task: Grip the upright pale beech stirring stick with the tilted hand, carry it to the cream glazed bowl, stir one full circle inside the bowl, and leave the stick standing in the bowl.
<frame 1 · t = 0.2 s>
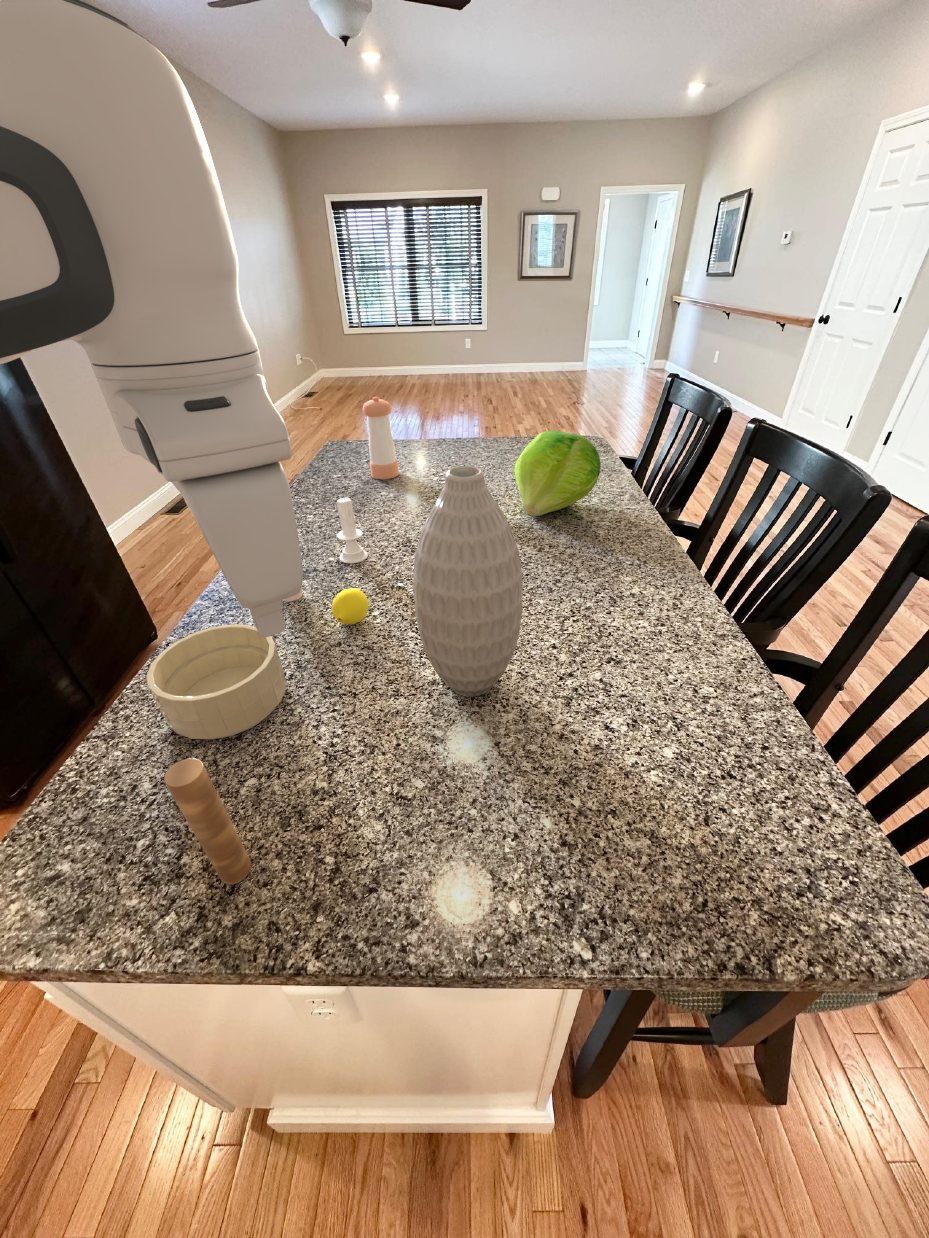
hand: (254, 600, 39), 25 cm above the countertop, tool pointing down, fingers open, 8 cm apart
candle: (354, 558, 98), on the countertop
stick: (235, 869, 48), on the countertop
lemon: (353, 622, 80), on the countertop
lettuce: (552, 507, 114), on the countertop
vase: (471, 682, 68), on the countertop
smoothie: (291, 596, 87), on the countertop
bowl: (229, 700, 66), on the countertop
pepper shaker: (385, 475, 135), on the countertop
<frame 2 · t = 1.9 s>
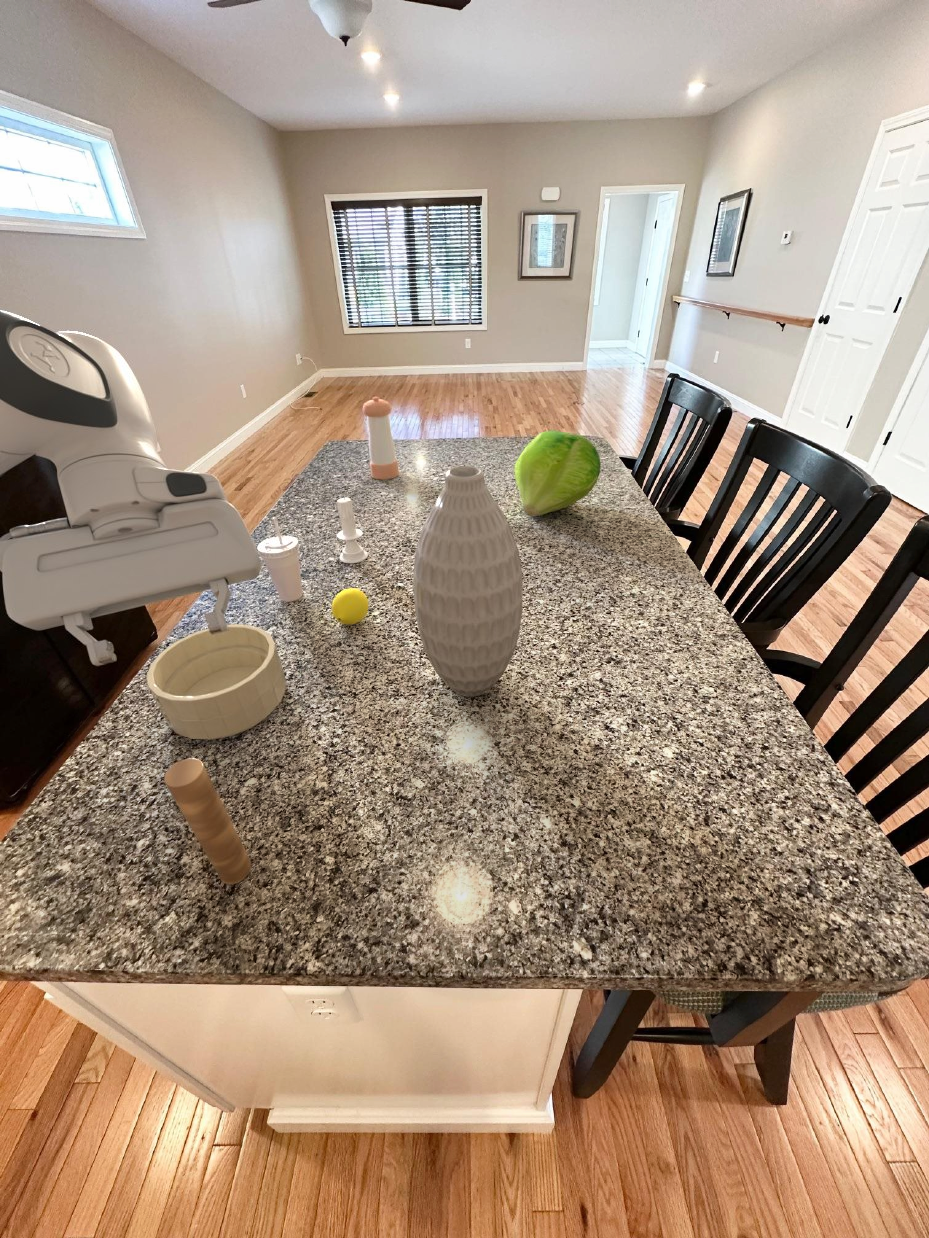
hand: (164, 646, 46), 18 cm above the countertop, tool tilted 45°, fingers open, 8 cm apart
nothing on the countertop moved.
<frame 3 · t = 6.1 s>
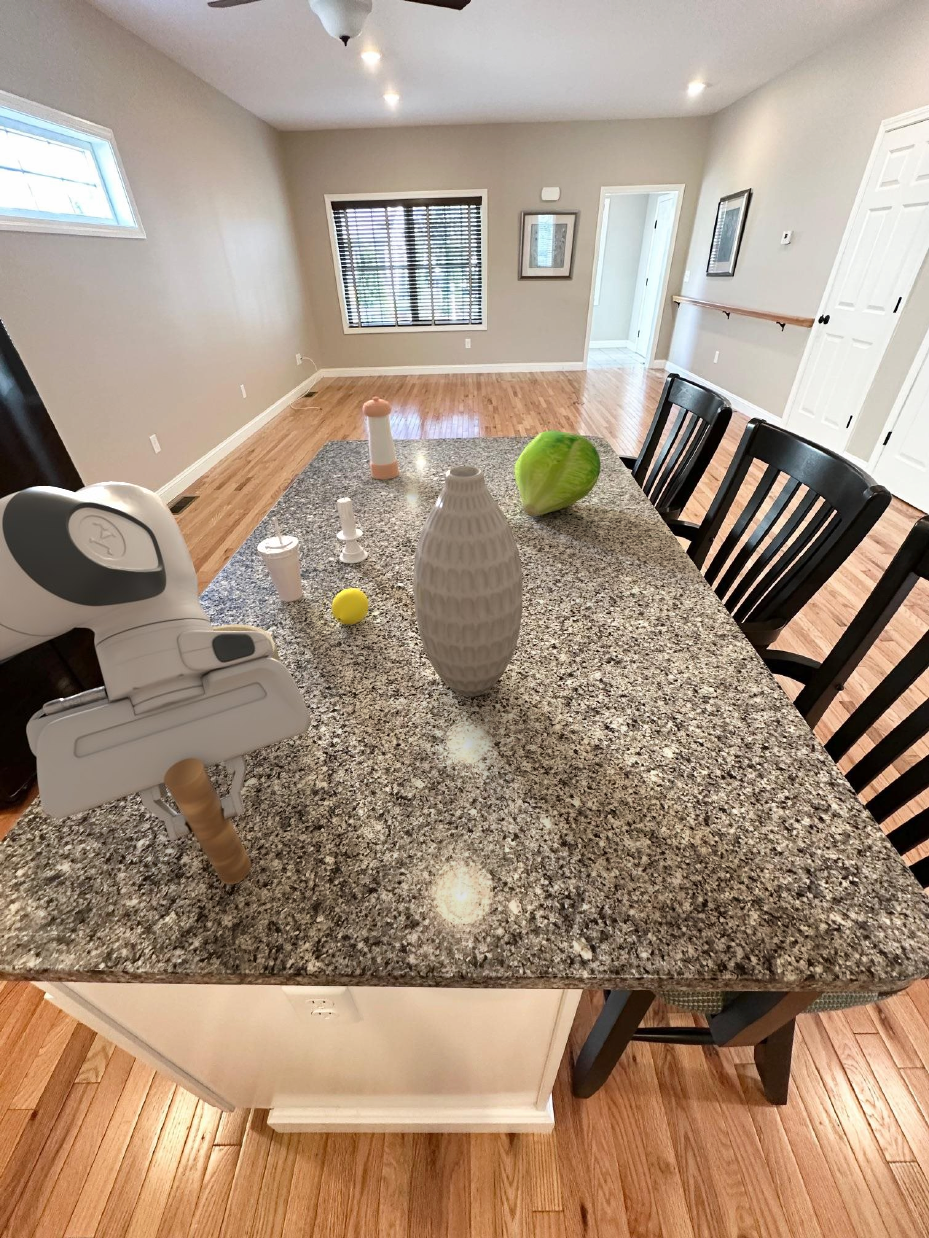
hand: (209, 826, 43), 8 cm above the countertop, tool tilted 45°, fingers closed on stick, 3 cm apart
stick: (235, 869, 48), on the countertop, touching gripper
everything else where it was.
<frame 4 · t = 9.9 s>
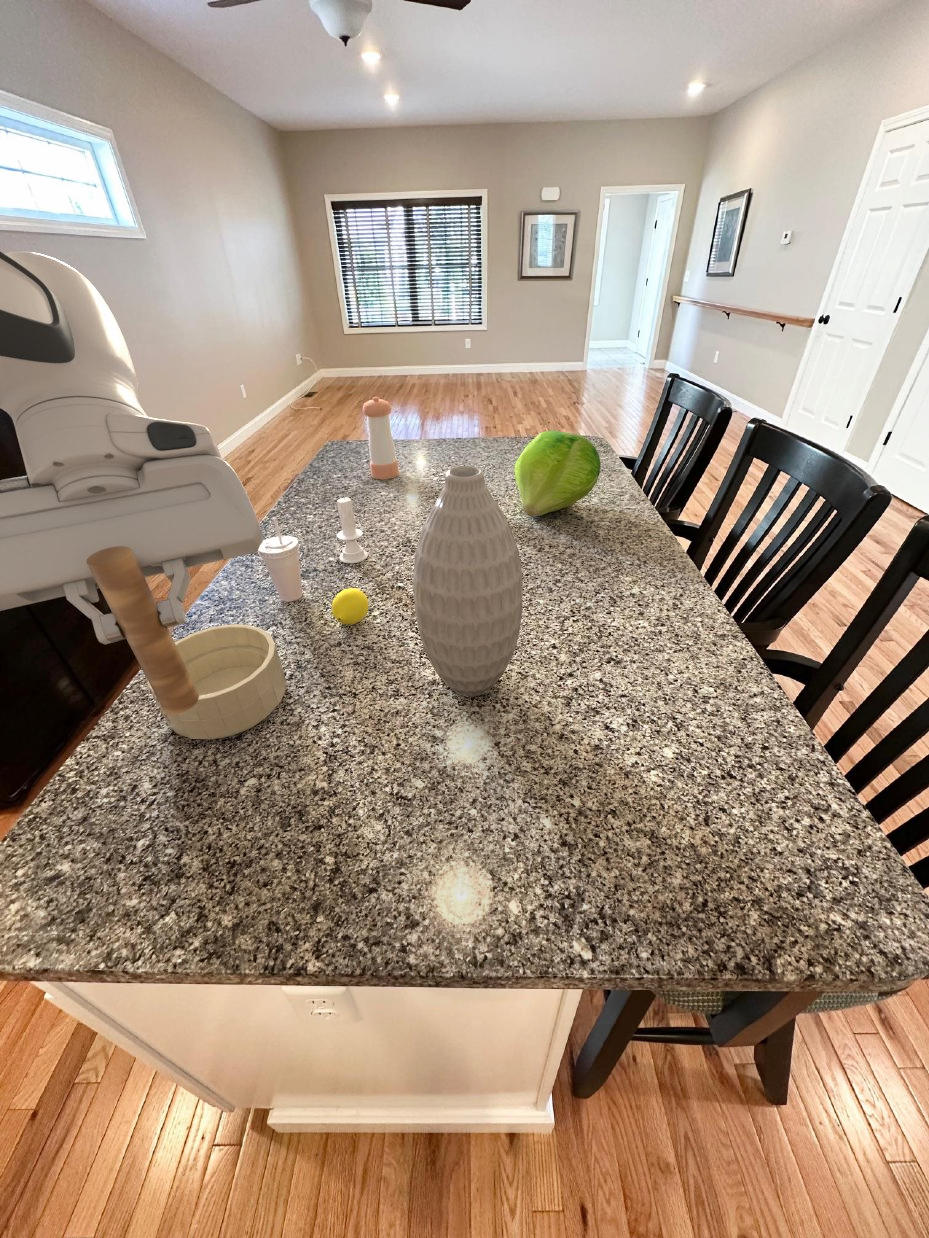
hand: (145, 632, 38), 24 cm above the countertop, tool tilted 45°, fingers closed on stick, 3 cm apart
stick: (181, 702, 43), point 16 cm above the countertop, touching gripper
everything else where it was.
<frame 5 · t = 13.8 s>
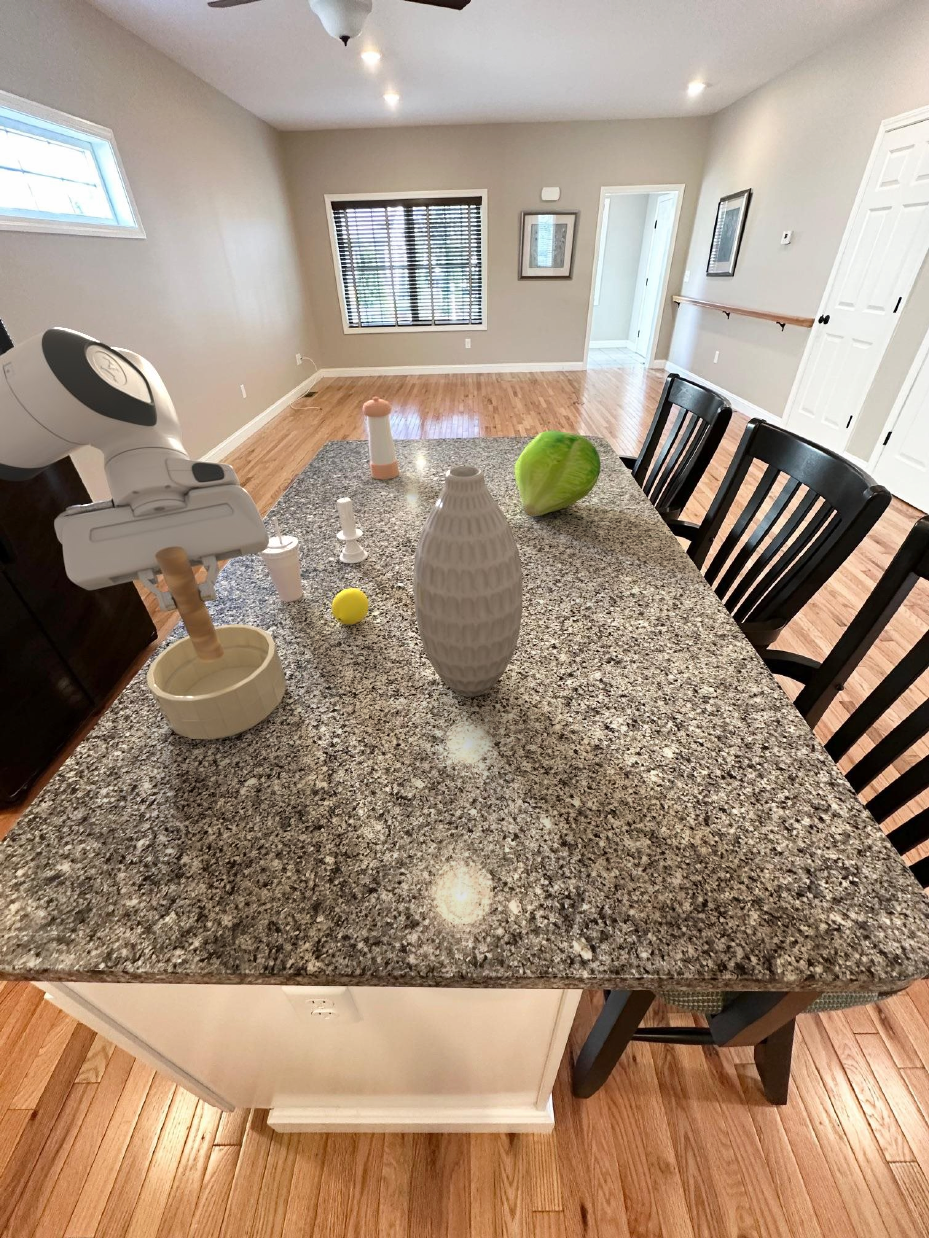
hand: (190, 604, 57), 15 cm above the countertop, tool tilted 45°, fingers closed on stick, 3 cm apart
stick: (211, 655, 62), point 7 cm above the countertop, touching gripper
everything else where it was.
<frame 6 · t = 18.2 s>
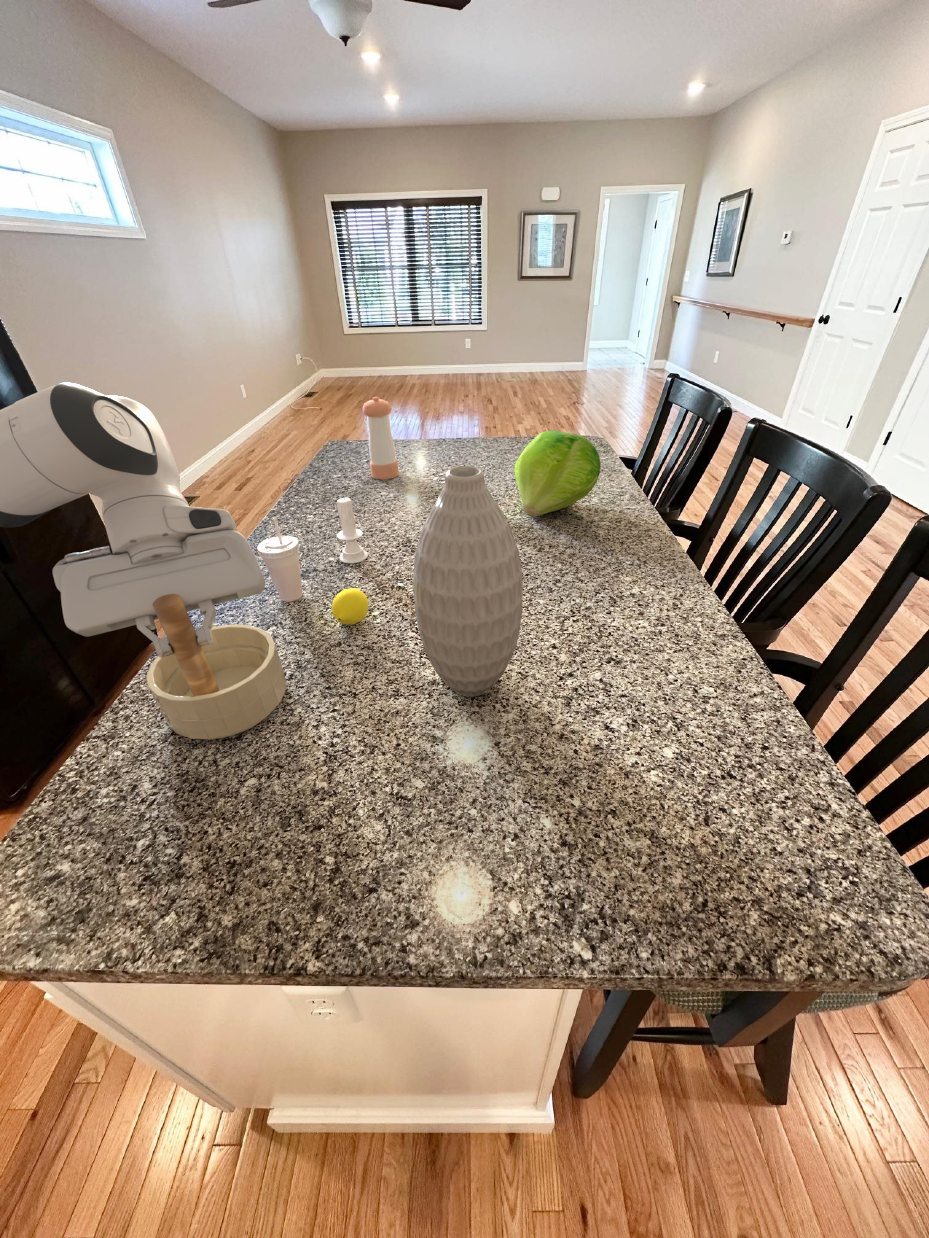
hand: (187, 649, 58), 11 cm above the countertop, tool tilted 45°, fingers closed on stick, 3 cm apart
stick: (208, 696, 63), point 3 cm above the countertop, touching gripper
everything else where it was.
when the fingers open (8 cm above the countertop, at t = 21.8 s): stick stays where it is, resting on bowl.
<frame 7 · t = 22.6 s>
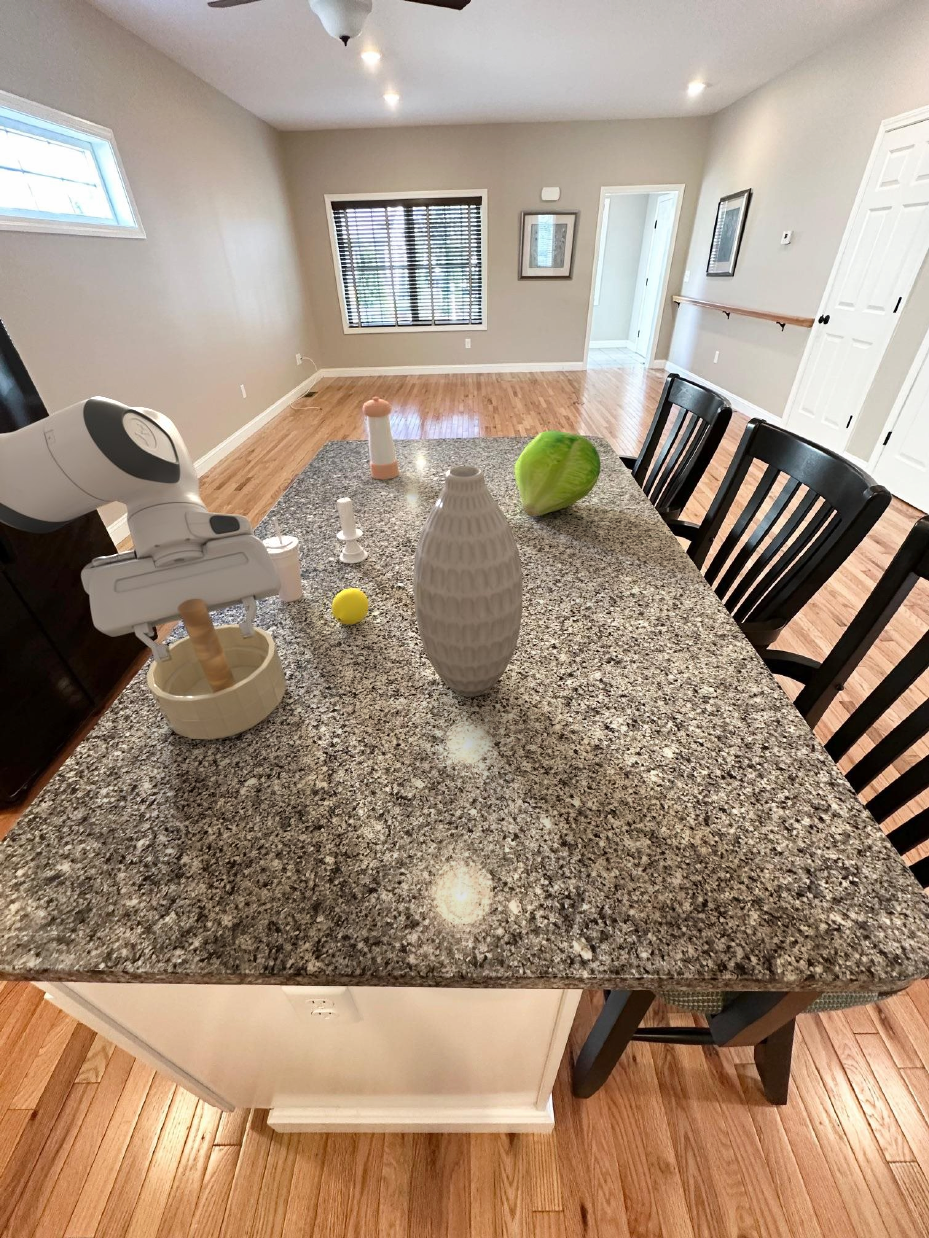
hand: (208, 648, 61), 9 cm above the countertop, tool tilted 45°, fingers open, 8 cm apart
stick: (227, 696, 66), point 1 cm above the countertop, touching bowl
everything else where it was.
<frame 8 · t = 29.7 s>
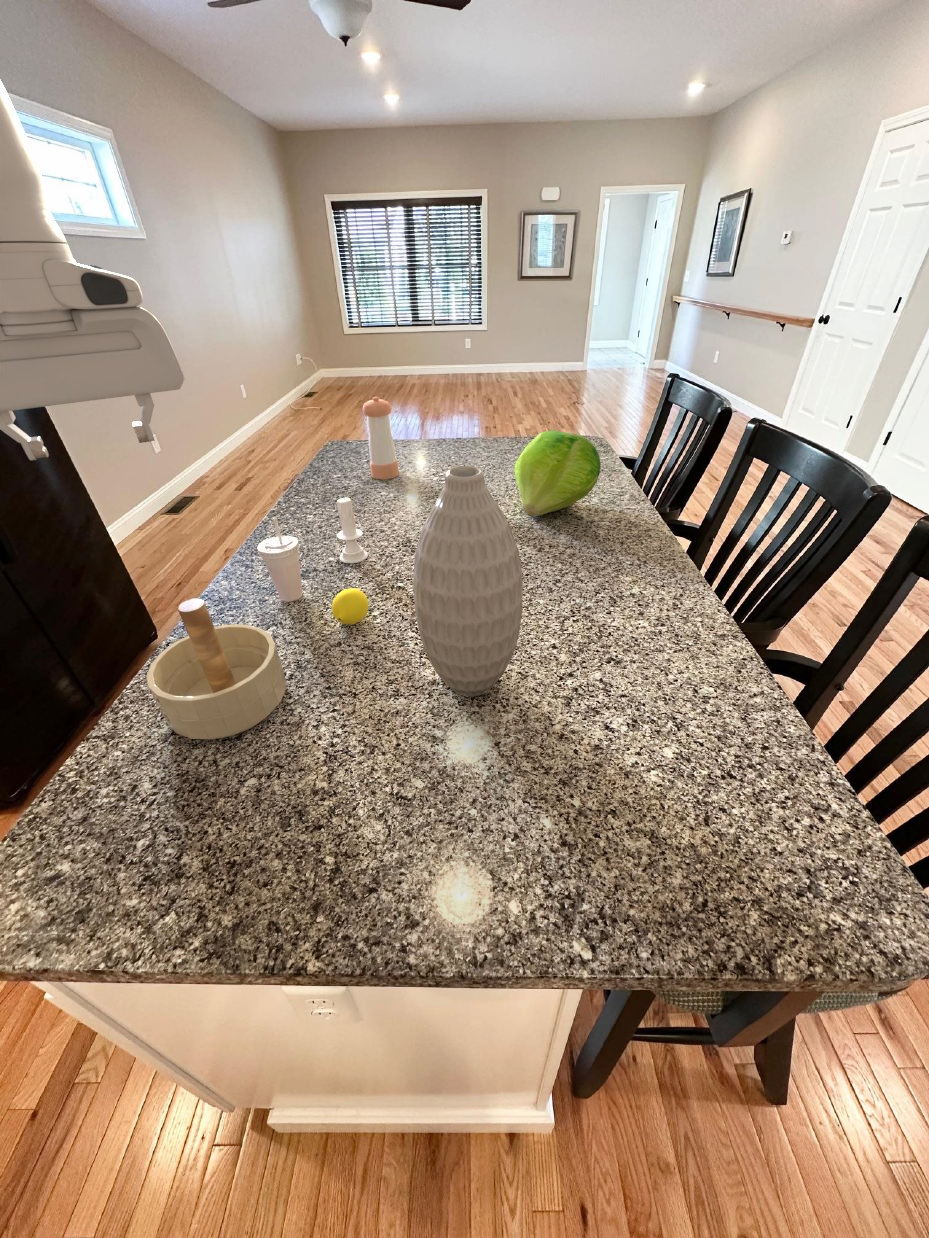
hand: (95, 449, 52), 31 cm above the countertop, tool pointing down, fingers open, 8 cm apart
nothing on the countertop moved.
at the end: stick inside the target area in the bowl (0.0 cm from its centre), point 0.8 cm above the bowl's base; stick moved 24.4 cm from its start; the gripper is holding nothing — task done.
